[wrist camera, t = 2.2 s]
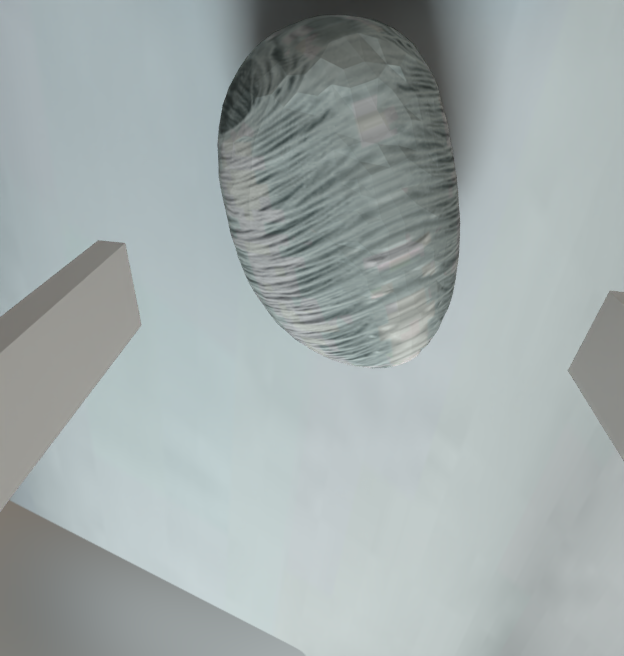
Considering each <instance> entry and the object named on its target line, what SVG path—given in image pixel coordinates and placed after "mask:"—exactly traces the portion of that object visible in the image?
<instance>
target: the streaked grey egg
mask: <svg viewBox="0 0 624 656" xmlns="http://www.w3.org/2000/svg"><path fill="white" fill-rule="evenodd" d="M218 163H219V181H220V186H221V192H222V196H223V201H224V205H225V209H226V214H227V218H228V223H229V228H230V232H231V236H232V239H233V242H234V244H235V247H236V251H237V254H238V258H239V260H240V263H241V265H242V268H243V270H244V273H245V275H246V277H247V279H248V281H249V284H250V285H251V287H252V289H253V290H254V292H255V294H256V295H257V297H258V298H259V299H260V301H261V302H262V304H263V305H264V306H265V308H266V309H267V311H268V312H269V313H270V315H271V316H272V317H273V319H274V320H275V321H276V323H277V324H278V325H280V326H281V327H282V328H283V329H284V330H285V331H287V332H288V333H289V334H290V335H291V336H292V337H293V338H294V339H296V340H297V341H299V342H300V343H302V344H304V345H305V346H307V347H308V348H309V349H311V350H313V351H315V352H317V353H319V354H321V355H323V356H325V357H327V358H330V359H332V360H335V361H338V362H341V363H345V364H348V365H352V366H357V367H367V368H387V367H392V366H397V365H401V364H403V363H406V362H408V361H410V360H412V359H413V358H415V357H416V356H418V354H419V353H420V352H421V350H422V349H423V348H424V347H426V346H427V345H428V343H429V342H430V340H431V339H432V338H433V336H434V335H435V333H436V332H437V330H438V329H439V326H440V324H441V322H442V319H443V317H444V315H445V313H446V311H447V309H448V307H449V304H450V301H451V298H452V294H453V290H454V285H455V280H456V272H457V265H458V257H459V241H460V214H459V200H458V187H457V177H456V171H455V164H454V157H453V149H452V145H451V141H450V136H449V130H448V123H447V119H446V116H445V113H444V109H443V106H442V102H441V98H440V94H439V89H438V85H437V83H436V81H435V79H434V77H433V75H432V73H431V71H430V69H429V67H428V66H427V64H426V63H425V61H424V60H423V58H422V57H421V55H420V54H419V52H418V51H417V49H416V48H415V46H414V44H413V43H412V42H411V41H409V40H408V39H407V38H406V37H404V36H403V35H402V34H400V33H399V32H398V31H396V30H395V29H393V28H391V27H390V26H388V25H386V24H383V23H381V22H379V21H377V20H373V19H367V18H362V17H355V16H348V15H325V16H316V17H312V18H308V19H305V20H302V21H299V22H297V23H294V24H292V25H290V26H287V27H285V28H283V29H281V30H279V31H277V32H275V33H273V34H272V35H270V36H269V37H268V38H266V39H265V40H264V41H262V42H261V43H260V44H259V45H258V46H257V47H256V48H255V49H254V50H253V51H252V53H251V54H250V55H249V56H248V57H247V58H246V60H245V61H244V62H243V64H242V65H241V67H240V68H239V70H238V72H237V73H236V75H235V77H234V79H233V81H232V83H231V85H230V87H229V89H228V92H227V95H226V98H225V100H224V103H223V107H222V113H221V119H220V124H219V133H218Z"/></svg>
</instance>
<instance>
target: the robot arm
mask: <svg viewBox="0 0 624 656" xmlns="http://www.w3.org/2000/svg"><path fill="white" fill-rule="evenodd" d="M140 326H141V320H140V315H139V310H138V305H137V300H136V295H135V290H134V285H133V280H132V275H131V270H130V265H129V260H128V255H127V250H126V245H125V243H119V242H109V241H99V240H98V241H97V242H96V243H94V244H93V245H92V246H91V247H89V248H88V249H87V250H85V251H84V252H83V253H82V254H80V255H79V256H78V257H76V258H75V259H74V260H73V261H71V262H70V263H69V264H68V265H66V266H65V267H64V268H62V269H61V270H60V271H59V272H57V273H56V274H55V275H53V276H52V277H51V278H50V279H48V280H47V281H46V282H44V283H43V284H42V285H41V286H39V287H38V288H37V289H36V290H34V291H33V292H32V293H30V294H29V295H28V296H27V297H25V298H24V299H23V300H21V301H20V302H19V303H18V304H16V305H15V306H14V307H12V308H11V309H10V310H9V311H7V312H6V313H5V314H4V315H2V316H1V317H0V511H1V510H2V509H3V507H4V506H5V505H6V503H7V502H8V501H9V499H10V498H11V497H12V495H13V494H14V493H15V491H16V490H17V489H18V488H19V486H20V485H21V484H22V482H23V481H24V480H25V478H26V477H27V476H28V474H29V473H30V472H31V470H32V469H33V468H34V466H35V465H36V464H37V462H38V461H39V460H40V458H41V457H42V456H43V455H44V453H45V452H46V451H47V449H48V448H49V447H50V445H51V444H52V443H53V441H54V440H55V439H56V437H57V436H58V435H59V433H60V432H61V431H62V429H63V428H64V427H65V425H66V424H67V423H68V422H69V420H70V419H71V418H72V416H73V415H74V414H75V412H76V411H77V410H78V408H79V407H80V406H81V404H82V403H83V402H84V400H85V399H86V398H87V396H88V395H89V394H90V392H91V391H92V390H93V388H94V387H95V386H96V385H97V383H98V382H99V381H100V379H101V378H102V377H103V375H104V374H105V373H106V371H107V370H108V369H109V367H110V366H111V365H112V363H113V362H114V361H115V359H116V358H117V357H118V355H119V354H120V353H121V352H122V350H123V349H124V348H125V346H126V345H127V344H128V342H129V341H130V340H131V338H132V337H133V336H134V334H135V333H136V332H137V330H138V329H139V328H140ZM568 372H569V373H570V375H571V376H572V378H573V380H574V381H575V383H576V384H577V386H578V388H579V389H580V391H581V393H582V394H583V396H584V397H585V399H586V401H587V402H588V404H589V406H590V407H591V409H592V410H593V412H594V414H595V415H596V417H597V419H598V420H599V422H600V423H601V425H602V427H603V428H604V430H605V432H606V433H607V435H608V436H609V438H610V440H611V441H612V443H613V445H614V446H615V448H616V449H617V451H618V453H619V454H620V456H621V458H622V459H623V461H624V292H618V291H609V293H608V295H607V297H606V299H605V301H604V303H603V305H602V306H601V308H600V310H599V312H598V314H597V316H596V318H595V320H594V322H593V324H592V326H591V327H590V329H589V331H588V333H587V335H586V337H585V339H584V341H583V343H582V345H581V346H580V348H579V350H578V352H577V354H576V356H575V358H574V360H573V362H572V364H571V366H570V367H569V369H568Z"/></svg>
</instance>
